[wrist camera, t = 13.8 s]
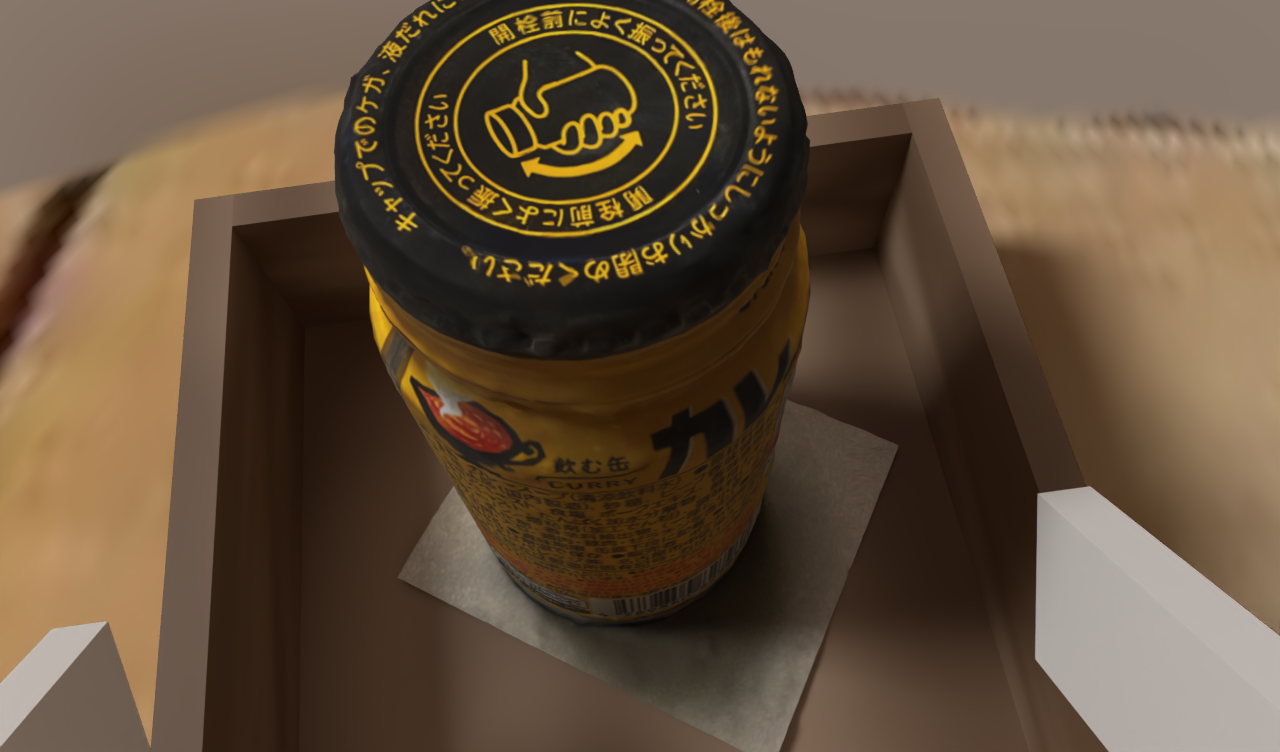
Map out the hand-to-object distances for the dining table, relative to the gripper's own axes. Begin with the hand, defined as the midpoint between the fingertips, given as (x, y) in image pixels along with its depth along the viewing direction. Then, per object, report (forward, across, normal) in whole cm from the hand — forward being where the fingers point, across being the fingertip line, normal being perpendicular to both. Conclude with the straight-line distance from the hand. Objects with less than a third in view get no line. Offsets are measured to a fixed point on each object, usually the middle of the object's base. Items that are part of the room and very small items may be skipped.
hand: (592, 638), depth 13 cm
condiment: (+7, +1, -2) cm, 7 cm away
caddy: (+8, +1, -2) cm, 8 cm away
